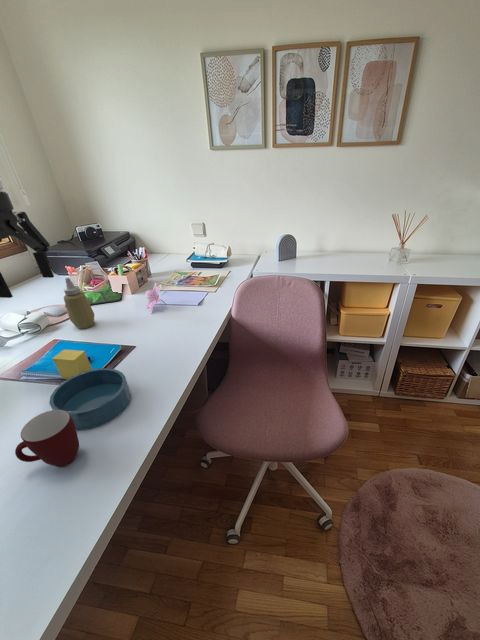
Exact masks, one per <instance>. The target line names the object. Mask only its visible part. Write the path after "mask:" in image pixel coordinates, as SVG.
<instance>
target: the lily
mask: <svg viewBox="0 0 480 640" xmlns="http://www.w3.org/2000/svg"><path fill="white" fill-rule="evenodd" d="M162 286H163V285H162V284H160V285H157V282H155V283H154V284H153V288H152V289H148V290H147V291H145V296H146V299H147V300H148V301H147V303H146V305H145V306H146V307H145V308H146V309H148V308H149V309H148V310H149V313H150V314H152V312H153V309H154V306H155V304H159V303H160V304H161V302H162V303H163V304H164V305H165V306H167V304H166V302H165V301H164V300H163V299H162V298H160V296H159V295H160V294H159V293H160V290H161V288H162Z"/></svg>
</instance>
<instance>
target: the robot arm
mask: <svg viewBox="0 0 480 640" xmlns="http://www.w3.org/2000/svg"><path fill="white" fill-rule="evenodd" d="M4 189H5V184H4V182H3V180H2V178H1V177H0V243H2V241H3V240H4V239H8V238H10V237H15V238H16V239H18V240H19V241H20V242H22V243H23V244H25V245H27V247H29V248H30V249H31V250H33V251H34V252H32V255H33V257H34V260H35V262H36V264H37V266H38V270H39V271H40V274H41V275H42V278H45V279H46V278H50V279H53V278H54V277H55V275H54V273H53V271H52V268H51V266H50V259H49V257H48V255H47V253H49V250H50V249H49V248H50V246H51V244H50V243H49V242H48V240H47V239H46V238H45V237H44V236H43V234H42V233H41V232H40V231H39V230H38V228H36V226H35V225H34V224H33V223H32V222H31V220H30V218H29V215H28V214H27V213H26V212H25V211H13V210H14V208H15V207H14V204H13V203H12V200H11V198H10V196H9V194H8V192H6V191H3V190H4ZM13 297H14V296H13V293H12V292H11V290H10V288H9V286H8V284H7V282H6V280H5V278H4V276H3V274H2V271H0V298H3V299H4V298H5V299H11V298H13Z"/></svg>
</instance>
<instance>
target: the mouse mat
mask: <svg viewBox="0 0 480 640" xmlns="http://www.w3.org/2000/svg"><path fill="white" fill-rule="evenodd" d="M80 292H83V291H80ZM83 293H84V294H85V296H86V298H87V300H88V302H89V304H90V306H94V305H99V304H100V305H102V304H108V303H114V302H119V301H122V299H123V292H122V293H118V292H113V291H112V289H111V286H110V284H109V285H107V286H106V287H105V288H103V289H101V290H99V291H97V292H83ZM64 308H66V305H64Z"/></svg>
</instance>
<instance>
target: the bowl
mask: <svg viewBox="0 0 480 640" xmlns="http://www.w3.org/2000/svg"><path fill="white" fill-rule="evenodd" d="M128 383H129V382H128V380H127V377H126V376H125V374H124V373H123V372H122V371H120V370H119V369H114V368H108V367H107V368H105V367H104V368H94V369H92V370H89V371H86V372H83V373H80V374H77V375H75V376H73V377H71V378H69V379H65V380H64V381H63V382H61V383H60V384H59V385H58V386H57V387H56V388H55V389H53V391H52V393H51V395H50V397H49V401H48V403H49V406H50V408H51V411H52V410H64V411H67V412H68V413H69V414H70V416H71V418H72V420H73V422H74V424H75V427H76V431H77V430H79V431H80V430H88V429H93V428H97V427H99V426H102V425H105V424H106V423H109V422H110V421H112V420H114V419H115V418H117V417H118V416H119V415H121V414H122V413H123V412H124V411H125V410H126V409H127V407H128V405H130V402H131V400H132V394H131V388H130V385H129V384H128Z"/></svg>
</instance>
